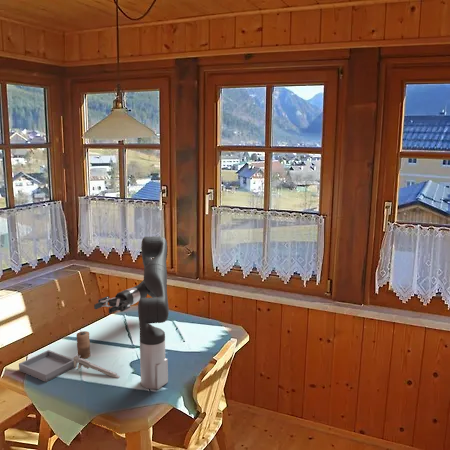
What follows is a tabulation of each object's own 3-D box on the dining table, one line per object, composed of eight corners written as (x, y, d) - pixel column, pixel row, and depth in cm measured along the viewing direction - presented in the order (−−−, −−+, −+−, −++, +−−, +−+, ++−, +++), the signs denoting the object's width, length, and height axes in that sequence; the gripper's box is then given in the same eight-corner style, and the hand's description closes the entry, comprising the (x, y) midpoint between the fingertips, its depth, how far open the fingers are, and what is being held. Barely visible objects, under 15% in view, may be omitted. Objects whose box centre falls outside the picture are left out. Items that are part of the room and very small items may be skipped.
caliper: (73, 369, 188) (72, 354, 187) (75, 368, 189) (74, 353, 188) (118, 378, 182) (117, 363, 180) (119, 377, 183) (119, 362, 181)
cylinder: (92, 355, 199) (91, 332, 197) (83, 360, 195) (82, 337, 193) (84, 352, 202) (83, 330, 200) (75, 357, 198) (73, 334, 196)
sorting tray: (75, 366, 190) (75, 359, 189) (46, 382, 178) (45, 374, 178) (49, 356, 198) (48, 349, 197) (19, 370, 186) (18, 363, 186)
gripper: (116, 287, 221) (89, 297, 207) (139, 292, 214) (113, 304, 200) (116, 302, 223) (90, 313, 209) (140, 308, 215) (114, 320, 202)
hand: (102, 309), depth 205 cm, fingers open, 8 cm apart
